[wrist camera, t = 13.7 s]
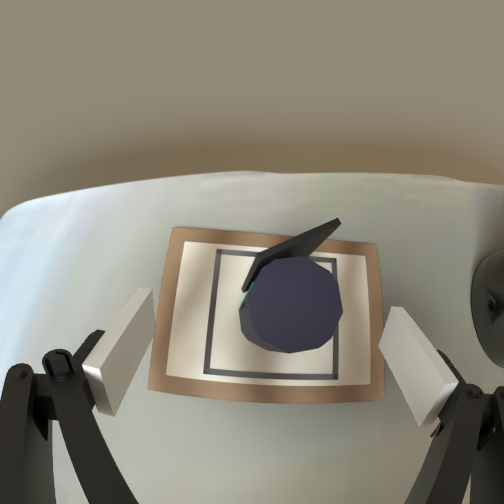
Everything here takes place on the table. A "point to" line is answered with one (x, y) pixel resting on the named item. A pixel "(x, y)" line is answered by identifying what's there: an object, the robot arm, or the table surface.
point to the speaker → (291, 296)
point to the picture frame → (247, 353)
